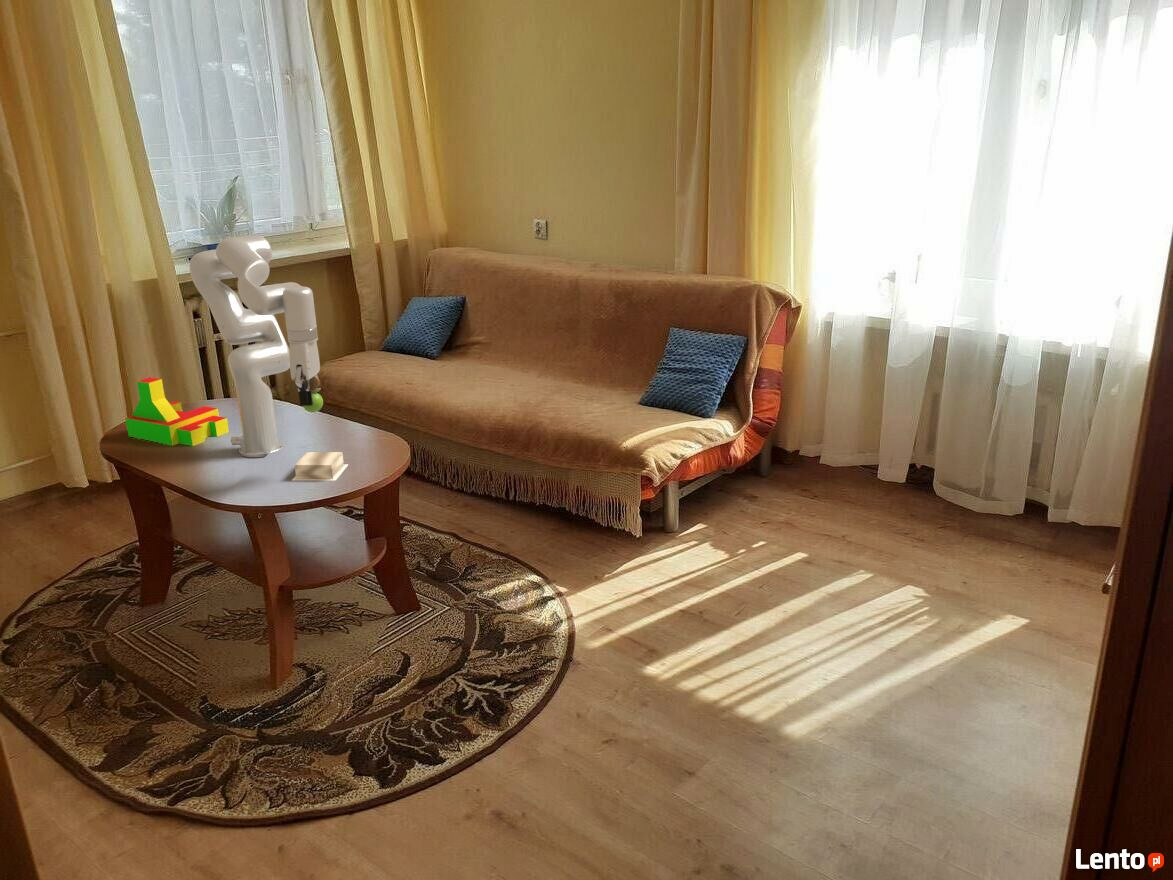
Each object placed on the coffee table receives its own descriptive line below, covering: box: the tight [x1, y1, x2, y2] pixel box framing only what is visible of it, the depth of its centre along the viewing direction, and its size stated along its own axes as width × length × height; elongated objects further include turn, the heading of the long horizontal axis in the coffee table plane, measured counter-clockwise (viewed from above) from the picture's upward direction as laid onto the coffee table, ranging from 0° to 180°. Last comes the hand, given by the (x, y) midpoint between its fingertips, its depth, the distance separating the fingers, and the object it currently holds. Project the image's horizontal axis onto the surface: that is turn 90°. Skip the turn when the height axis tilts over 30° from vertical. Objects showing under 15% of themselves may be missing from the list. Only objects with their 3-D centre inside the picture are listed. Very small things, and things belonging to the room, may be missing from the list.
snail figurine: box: [302, 375, 324, 413], centre depth 246 cm, size 5×6×12 cm
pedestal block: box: [294, 451, 345, 479], centre depth 253 cm, size 10×10×4 cm
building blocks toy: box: [125, 376, 230, 447], centre depth 287 cm, size 19×25×18 cm
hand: (310, 401), depth 247 cm, fingers closed on snail figurine, 5 cm apart
